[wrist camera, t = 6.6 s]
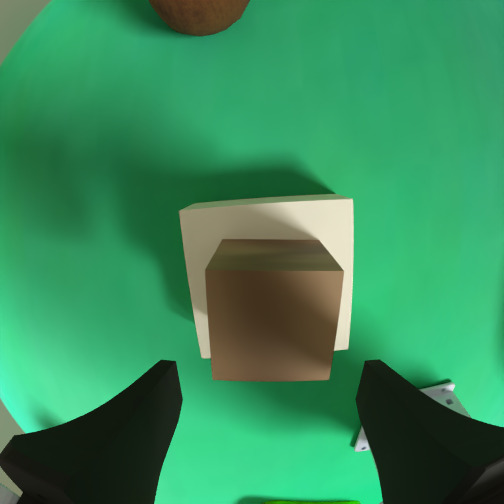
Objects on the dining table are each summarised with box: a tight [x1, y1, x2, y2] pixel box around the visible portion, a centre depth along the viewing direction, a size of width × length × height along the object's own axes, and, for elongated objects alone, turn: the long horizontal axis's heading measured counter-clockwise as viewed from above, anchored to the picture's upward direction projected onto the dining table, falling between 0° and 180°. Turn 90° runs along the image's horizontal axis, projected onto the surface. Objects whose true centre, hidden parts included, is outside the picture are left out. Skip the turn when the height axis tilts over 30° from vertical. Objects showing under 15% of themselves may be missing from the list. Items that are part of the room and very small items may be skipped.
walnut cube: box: [205, 239, 344, 381], centre depth 14 cm, size 5×5×5 cm
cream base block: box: [179, 194, 353, 358], centre depth 18 cm, size 9×9×4 cm
